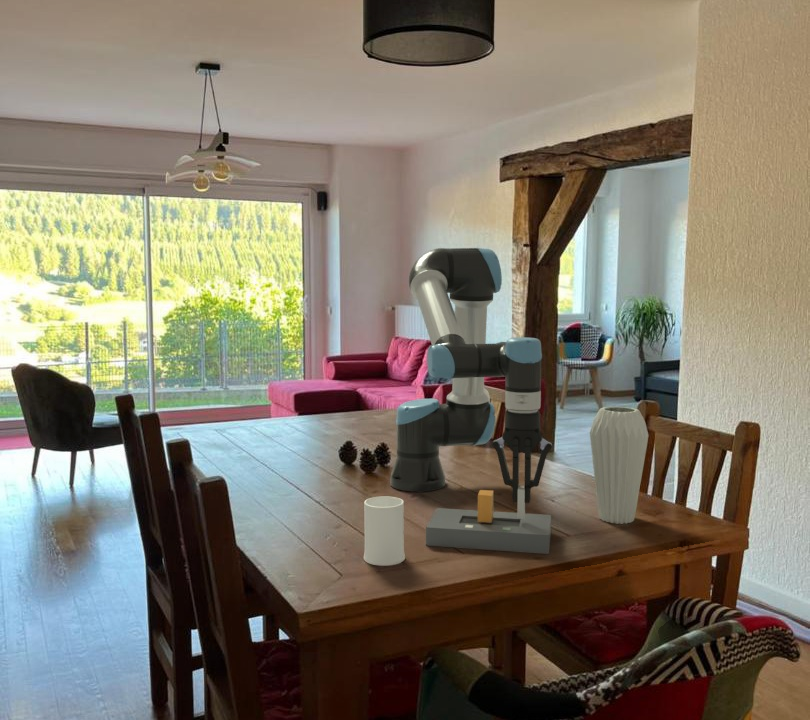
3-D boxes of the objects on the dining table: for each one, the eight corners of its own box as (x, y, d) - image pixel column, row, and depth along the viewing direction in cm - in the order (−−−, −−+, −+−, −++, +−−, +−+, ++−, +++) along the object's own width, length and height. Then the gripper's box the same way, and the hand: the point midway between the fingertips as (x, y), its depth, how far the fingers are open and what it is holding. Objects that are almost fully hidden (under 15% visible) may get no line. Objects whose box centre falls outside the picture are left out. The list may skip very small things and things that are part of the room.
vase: (636, 531, 178) (640, 416, 175) (579, 521, 185) (582, 411, 182) (652, 515, 190) (656, 407, 187) (598, 507, 197) (600, 402, 194)
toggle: (477, 521, 172) (477, 494, 171) (479, 516, 176) (479, 489, 175) (491, 522, 171) (491, 495, 171) (493, 517, 175) (493, 490, 175)
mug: (351, 550, 167) (350, 494, 166) (387, 543, 171) (387, 489, 169) (373, 568, 157) (373, 510, 155) (412, 561, 160) (412, 504, 159)
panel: (426, 545, 170) (426, 526, 169) (436, 524, 183) (437, 507, 183) (548, 553, 164) (549, 534, 164) (550, 532, 178) (551, 514, 178)
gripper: (490, 412, 167) (489, 520, 170) (553, 414, 164) (551, 524, 167) (493, 406, 174) (492, 509, 177) (554, 407, 172) (552, 513, 174)
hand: (521, 516), depth 172 cm, fingers closed
